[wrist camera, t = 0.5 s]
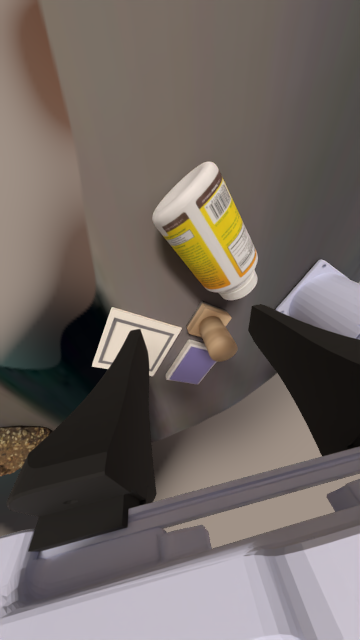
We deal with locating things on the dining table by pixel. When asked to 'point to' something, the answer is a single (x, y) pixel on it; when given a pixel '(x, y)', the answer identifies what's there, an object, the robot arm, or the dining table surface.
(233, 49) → the dining table surface
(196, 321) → the stamp
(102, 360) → the print sheet
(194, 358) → the ink pad
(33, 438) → the brown speckled mound
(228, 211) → the supplement bottle
